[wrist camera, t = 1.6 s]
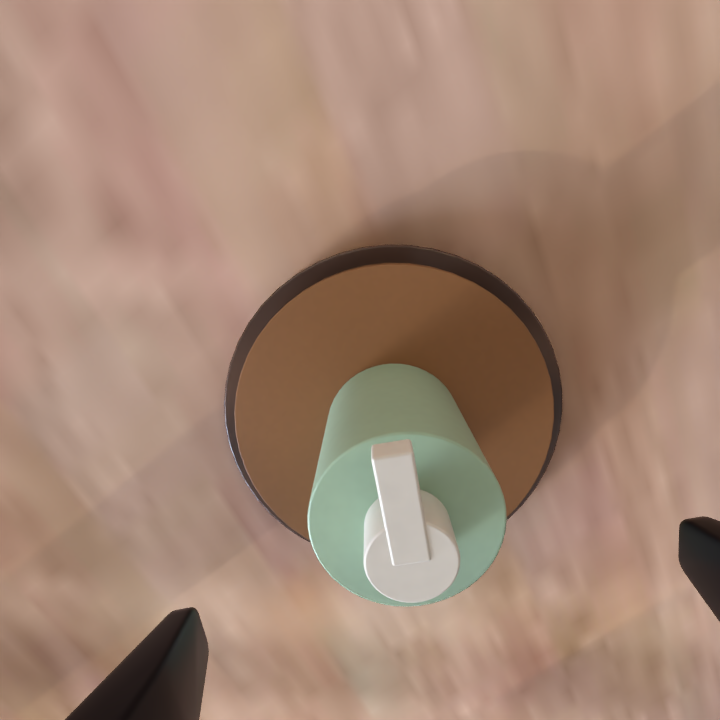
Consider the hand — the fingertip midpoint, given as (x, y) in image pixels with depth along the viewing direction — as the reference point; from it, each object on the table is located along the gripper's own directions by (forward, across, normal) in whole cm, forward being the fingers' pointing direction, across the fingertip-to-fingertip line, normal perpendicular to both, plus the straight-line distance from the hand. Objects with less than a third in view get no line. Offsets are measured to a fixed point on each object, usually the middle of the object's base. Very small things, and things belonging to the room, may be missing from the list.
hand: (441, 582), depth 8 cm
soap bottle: (+12, 0, +2) cm, 12 cm away
